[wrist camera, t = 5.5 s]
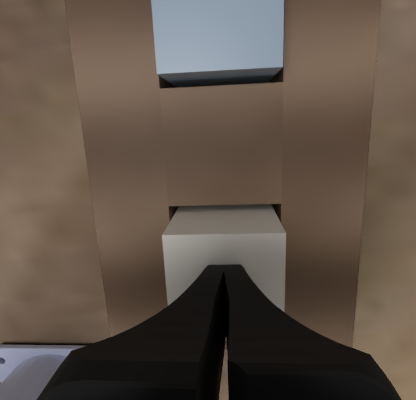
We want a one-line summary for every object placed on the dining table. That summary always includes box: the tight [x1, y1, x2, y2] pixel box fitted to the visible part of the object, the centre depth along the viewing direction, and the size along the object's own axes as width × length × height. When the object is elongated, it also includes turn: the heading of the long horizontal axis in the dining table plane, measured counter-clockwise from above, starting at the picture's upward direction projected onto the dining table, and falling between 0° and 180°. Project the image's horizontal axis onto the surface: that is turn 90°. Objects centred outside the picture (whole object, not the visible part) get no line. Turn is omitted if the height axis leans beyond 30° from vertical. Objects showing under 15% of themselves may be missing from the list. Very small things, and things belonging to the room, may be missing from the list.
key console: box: [65, 0, 381, 349], centre depth 15 cm, size 20×12×4 cm, turn 2°
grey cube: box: [151, 0, 284, 87], centre depth 12 cm, size 4×4×4 cm
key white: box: [162, 204, 286, 312], centre depth 13 cm, size 4×4×4 cm
